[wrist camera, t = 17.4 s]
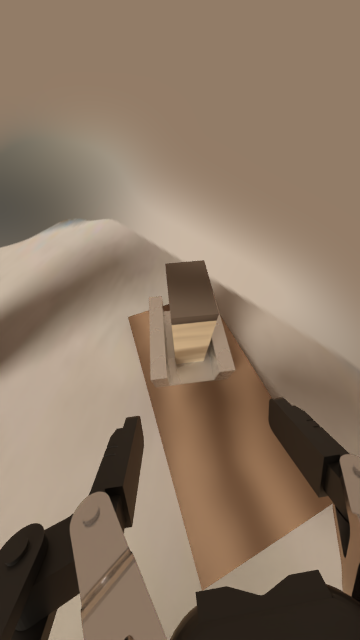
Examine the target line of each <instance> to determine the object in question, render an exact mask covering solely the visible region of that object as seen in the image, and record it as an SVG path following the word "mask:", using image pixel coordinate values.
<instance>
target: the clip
mask: <svg viewBox="0 0 360 640" xmlns="http://www.w3.org/2000/svg"><path fill="white" fill-rule="evenodd" d="M213 294H214V292H213ZM214 297H215V296H214ZM215 301H216V299H215ZM216 304H217V303H216ZM217 308H218V306H217ZM218 311H219V310H218ZM149 320H150V375H151V381H152V383H153V384H154V386H155V387H164V386H173V385H181V384H189V383H198V382H206V381H215V380H223V379H228V377H229V376H230V375H231V374H232V373H233V372H234V371H235V366H234V363H233V359H232V356H231V352H230V349H229V345H228V342H227V338H226V335H225V331H224V327H223V324H222V320H221V317H220V313H219V316H218V319H217V322H216V325H215V328H214V331H213V334H212V337H211V340H210V343H209V346H208V349H207V352H206V355H205V358H204V361H198V362H189V363H180V364H176V362H175V352H174V343H173V334H172V325H171V315H170V311H164V308H163V302H162V296H158V297H149Z"/></svg>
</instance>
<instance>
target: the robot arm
mask: <svg viewBox="0 0 360 640" xmlns="http://www.w3.org/2000/svg"><path fill="white" fill-rule="evenodd" d="M268 421H269V425H270V428H271V430H272V432H273V433H274V434H275V436H276V437H277V439H278V440H279V442H280V443H281V445H282V446H283V447H284V449H285V450H286V452H287V453H288V455H289V456H290V457H291V459H292V460H293V462H294V463H295V465H296V466H297V467H298V469H299V470H300V472H301V473H302V475H303V476H304V477H305V479H306V480H307V482H308V483H309V485H310V486H311V487H312V489H313V490H314V492H315V493H316V495H317V496H318V497H319V498H320V497H326V496H329V498H330V499H331V500H332V502H333V513H334V519H335V526H336V532H337V538H338V544H339V551H340V557H341V564H342V588H343V591H341V590H339V589H337V588H335V587H332V586H330V585H327V584H325V582H324V580H323V578H322V576H321V574H320V572H319V570H314V571H308V572H303V573H297V574H292V575H288V576H287V577H286V578H285V579H283V580H282V581H281V582H280V583H278V584H277V585H276V586H275V587H274V588H272V589H271V590H270V591H269V592H267V593H266V594H265V595H256V594H253V593H249V592H245V591H242V590H238V589H234V588H230V587H221V588H216V589H210V590H205V591H199V592H196V600H197V606H196V607H195V608H193V609H192V610H191V611H190V612H189V613H188V614H187V615H186V616H185V617H184V618H183V619H182V621H181V622H180V624H179V625H178V627H177V628H176V630H175V632H174V633H173V635H172V637H171V639H170V640H360V457H358V456H355V455H351V454H349V453H348V452H347V451H346V450H345V449H344V448H343V447H342V446H341V445H340V444H338V443H337V442H336V441H335V440H334V439H333V438H332V437H331V436H330V435H329V434H328V433H327V432H326V431H325V430H324V429H323V428H322V427H320V426H319V425H318V424H317V423H316V422H315V421H313V419H312V418H311V417H310V416H309V415H308V414H307V413H306V412H305V411H303V410H301V409H300V408H298V407H296V406H291V405H290V404H289V403H288V402H287V401H286V400H285V399H284V398H275V399H270V400H269V416H268ZM143 448H144V437H143V431H142V425H141V419H140V416H134V417H127V418H126V420H125V423H124V426H123V428H120V429H117V430H116V431H115V432H114V433H113V435H112V436H111V437H110V440H109V443H108V445H107V449H106V451H105V453H104V457H103V459H102V462H101V464H100V467H99V470H98V472H97V475H96V478H95V481H94V483H93V486H92V489H91V491H90V494H89V496H88V497H87V498H85V499H84V500H83V501H82V502H81V503H80V505H79V506H78V507H77V509H76V510H75V512H74V514H72V515H71V516H70V517H68V518H66V519H65V520H63V521H61V522H59V523H57V524H55V525H53V526H51V527H50V528H48V529H46V530H44V529H43V526H42V525H40V524H37V523H35V524H30V525H28V526H26V527H24V528H22V529H21V530H20V531H18V532H17V533H16V534H15V535H13V536H12V537H11V538H10V539H9V540H8V541H7V542H6V544H5V545H4V546H3V547H2V548H1V550H0V640H48V638H49V634H50V631H51V628H52V625H53V621H54V618H55V615H56V612H57V609H58V608H59V607H60V606H62V605H63V604H65V603H66V602H68V601H69V600H71V599H72V598H73V597H75V596H76V595H78V594H79V593H80V597H81V604H82V609H81V620H82V628H83V635H84V640H167V638H166V636H165V633H164V631H163V628H162V626H161V623H160V620H159V618H158V615H157V613H156V610H155V608H154V605H153V603H152V600H151V598H150V595H149V593H148V590H147V588H146V585H145V582H144V580H143V577H142V575H141V572H140V570H139V567H138V565H137V562H136V560H135V557H134V555H133V553H132V552H131V551H130V549H129V547H128V544H127V542H126V539H125V536H124V529H125V528H128V527H132V524H133V517H134V510H135V503H136V496H137V489H138V483H139V476H140V469H141V462H142V455H143Z"/></svg>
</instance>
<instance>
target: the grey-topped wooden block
mask: <svg viewBox="0 0 360 640" xmlns="http://www.w3.org/2000/svg"><path fill="white" fill-rule="evenodd" d="M165 265H166V275H167V285H168V295H169V305H170V315H171V325H172V334H173V343H174V352H175V362H176V364H180V363H189V362H198V361H204V358H205V355H206V352H207V349H208V346H209V343H210V340H211V337H212V334H213V331H214V328H215V325H216V322H217V319H218V316H219V311H218V308H217V304H216V301H215V297H214V294H213V290H212V287H211V283H210V280H209V276H208V272H207V269H206V265H205V262H204V261H192V262H180V263H169V264H165Z"/></svg>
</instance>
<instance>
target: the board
mask: <svg viewBox="0 0 360 640" xmlns="http://www.w3.org/2000/svg"><path fill="white" fill-rule="evenodd" d="M163 308H164V311H170V305H169V304H168V305H165V306H163ZM220 317H221V315H220ZM128 319H129V322H130V326H131V330H132V333H133V337H134V341H135V344H136V348H137V352H138V355H139V359H140V363H141V366H142V370H143V374H144V378H145V381H146V385H147V389H148V392H149V396H150V400H151V403H152V407H153V411H154V414H155V418H156V422H157V425H158V429H159V433H160V437H161V440H162V444H163V448H164V451H165V455H166V459H167V462H168V466H169V470H170V473H171V477H172V481H173V484H174V488H175V492H176V495H177V499H178V503H179V507H180V510H181V514H182V518H183V521H184V525H185V529H186V532H187V536H188V540H189V543H190V547H191V551H192V554H193V558H194V562H195V566H196V569H197V573H198V577H199V580H200V584H201V588H202V590H204V589H205V588H207V587H208V586H210V585H211V584H213V583H214V582H216V581H217V580H219V579H220V578H222V577H223V576H225V575H226V574H228V573H229V572H231V571H232V570H234V569H235V568H237V567H238V566H240V565H241V564H243V563H244V562H246V561H247V560H249V559H250V558H252V557H253V556H255V555H256V554H258V553H259V552H261V551H262V550H264V549H265V548H267V547H268V546H270V545H271V544H273V543H274V542H276V541H277V540H279V539H280V538H282V537H283V536H285V535H286V534H288V533H289V532H291V531H292V530H294V529H295V528H297V527H298V526H300V525H301V524H303V523H304V522H306V521H307V520H309V519H310V518H312V517H313V516H315V515H316V514H318V513H319V512H321V511H322V510H324V509H325V508H326V507H328V506H329V505H331V504H332V503H333V502H332V500H331V499H330V498H329V496H326V497H320V498H319V497H318V496H317V495H316V493H315V492H314V490H313V489H312V487H311V486H310V485H309V483H308V482H307V480H306V479H305V477H304V476H303V475H302V473H301V472H300V470H299V469H298V467H297V466H296V465H295V463H294V462H293V460H292V459H291V457H290V456H289V455H288V453H287V452H286V450H285V449H284V447H283V446H282V445H281V443H280V442H279V440H278V439H277V437H276V436H275V434H274V433H273V432H272V430H271V428H270V425H269V421H268V416H269V400H270V399H272V397H271V396H270V394H269V393H268V391H267V389H266V388H265V386H264V385H263V383H262V381H261V380H260V378H259V377H258V375H257V373H256V372H255V370H254V368H253V367H252V365H251V364H250V362H249V360H248V359H247V357H246V356H245V354H244V352H243V351H242V349H241V348H240V346H239V344H238V343H237V341H236V340H235V338H234V336H233V335H232V333H231V332H230V330H229V328H228V327H227V325H226V324H225V322H224V320H223V319H222V317H221V320H222V324H223V327H224V331H225V335H226V338H227V342H228V345H229V349H230V352H231V356H232V359H233V363H234V366H235V371H234V372H233V373H232V374H231V375H230V376H229V377H228V379H223V380H215V381H206V382H198V383H189V384H181V385H173V386H164V387H155V386H154V384H153V383H152V381H151V375H150V320H149V311H146V312H143V313H140V314H136V315H133V316H130V317H128Z"/></svg>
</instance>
